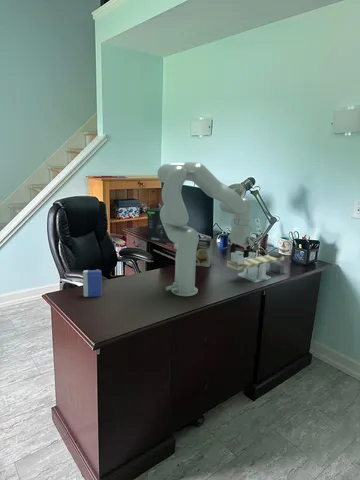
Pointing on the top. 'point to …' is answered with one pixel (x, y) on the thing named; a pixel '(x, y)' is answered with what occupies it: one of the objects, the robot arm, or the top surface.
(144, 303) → the top surface
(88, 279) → the walkman
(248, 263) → the beam
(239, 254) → the block
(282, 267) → the beam stand
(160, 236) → the headset box
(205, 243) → the coffee box
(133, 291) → the top surface
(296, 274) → the top surface
